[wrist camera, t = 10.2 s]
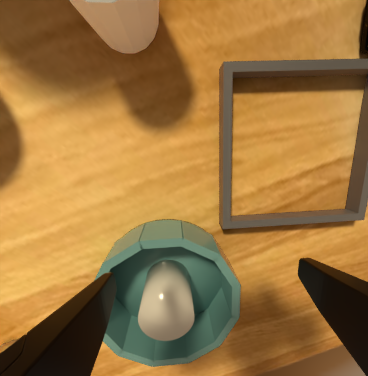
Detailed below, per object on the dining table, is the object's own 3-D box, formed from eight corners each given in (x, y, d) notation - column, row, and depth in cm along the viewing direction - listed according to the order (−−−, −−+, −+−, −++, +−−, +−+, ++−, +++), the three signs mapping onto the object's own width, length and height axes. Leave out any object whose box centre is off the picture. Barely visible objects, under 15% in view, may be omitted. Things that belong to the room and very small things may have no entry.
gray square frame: (376, 65, 18) (394, 58, 16) (350, 214, 21) (364, 219, 20) (219, 69, 17) (223, 61, 16) (219, 223, 21) (222, 229, 19)
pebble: (188, 258, 21) (193, 292, 16) (190, 295, 22) (195, 338, 17) (144, 261, 20) (135, 296, 15) (148, 298, 21) (140, 343, 17)
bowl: (227, 215, 20) (242, 233, 16) (226, 318, 24) (238, 358, 19) (98, 223, 20) (76, 245, 15) (114, 328, 23) (100, 372, 18)
